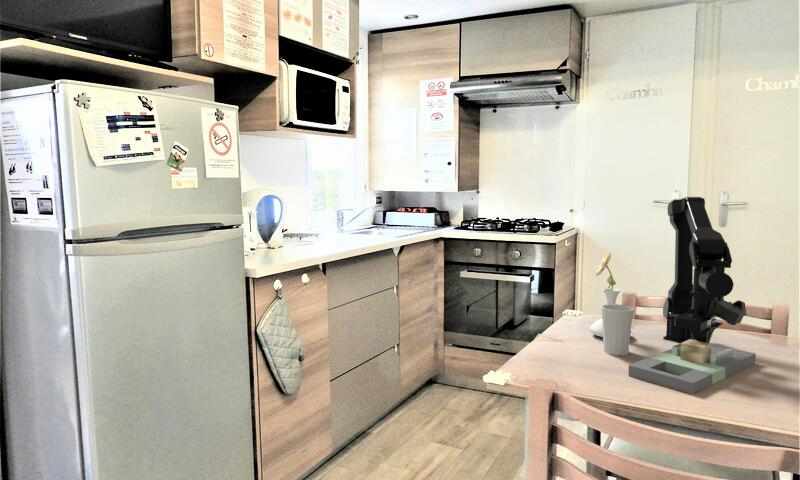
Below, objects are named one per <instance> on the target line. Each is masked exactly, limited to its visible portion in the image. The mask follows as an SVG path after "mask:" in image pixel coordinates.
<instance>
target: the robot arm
mask: <svg viewBox="0 0 800 480" xmlns="http://www.w3.org/2000/svg"><path fill="white" fill-rule="evenodd" d="M667 215H668V217H669V223H670V225H671V226H672V228H673V229H674V231H675V239H674V240H675V247H674V248H675V249H674V251H675V253H674V257H675V258H674V283H673V284H672V286H671V287H670V288H669V289H668V292H667V297H666V298H665V301H664V304H663V307H662V315H663V318H665V319H666V331H665V332H666V335H665V336H664V335H663V337H662V338H663V339H665V340H668V341H669V340H670V341H673V342H677V343H682V342H685V341H687V340H689V339H692V340H697V341H702V342H707V343H711V339H712V336H713V334H714V332H715V330H717V329H718V328H720V327H721V326H722V325H724V323H722V322H718V319H717V318H719V319H721V320H723V321H725V322H726V323H727V324H729V325H731V326H736V325H737V324H740V323H742V320H743V318H744V317H745V316H747V314H748V313H747V309H746V303H745V302H744V301H742V300H735V301H734V302H732V301H727V300H725V299H724V298H725V297H727V296H728V295H729V294H730V293H731V292H732V291H733V289H734V281H733V278H732V277H731V276H730V275H729V274H727V273H726V272H725V270H726V269H731V267H732V262H733V259H732V255H731V250H730V247H729V246H728V243H727V242H726V240H725V239H724V236H723V235H722V234H721V232H718V231H717V230H715V229H714V228H713V226H712V223H711V221H710V218H709V214H708V211H707V210H706V200H705V197H702V196H685V197H682V198H680V199H679V198H677V199H672V200H671V201H669V203H668V204H667Z"/></svg>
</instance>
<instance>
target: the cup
mask: <svg viewBox="0 0 800 480" xmlns="http://www.w3.org/2000/svg"><path fill="white" fill-rule="evenodd" d="M600 307H601V318H602V324H603V337H602V339H603V341H602V343H603V344H602V345H603V347H602V349H603V353H605V354H607V353H608V354H607V355H610V354H611V355H610V356H618V355H622V356H626V355H629V354H630V353H629V351H630V349H629V348H630V338H631V334H630V332H631V333H632V323H633V316H634V309H635V308H634V307H632V306H630V305H627V304H625V305H624V304H618V303H617V304H616V303H615V304H607V303H606V304H603V305H601V306H600Z"/></svg>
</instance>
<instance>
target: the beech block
mask: <svg viewBox="0 0 800 480" xmlns="http://www.w3.org/2000/svg"><path fill="white" fill-rule="evenodd" d="M680 343H681V342H680ZM711 344H712V343H711V342H709V343H707V342H702V341H697V340H692V339H689V340H687V341H685V342H682V343H681V353H680V359H681V360H686V361H690V362H694V363H698V364H703V363H705V362H707V361H709V360H710V356H711Z"/></svg>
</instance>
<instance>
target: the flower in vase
mask: <svg viewBox="0 0 800 480" xmlns="http://www.w3.org/2000/svg"><path fill="white" fill-rule="evenodd" d="M611 258H612V252H611V251H610V252H606V254H605V256H603V257H602V259H601V263H600V264H598V265H597V267H596V268H597V270H595V272H594V275H595V276H594V277H598V276H600V275H601V274H602V273H603V272H604V271H605V269H607V271H608V272H609V276H608V278H607V279H606V282H607V283H608V284H609V285H608V287H604V288H602V289H601V290H602V291H603V293H604V295H605V298H606V305H607V304H616V302H617V298H618V296H619V293H621V292H622V289H620V288H614V286H616V284H617V282H616V281H615V279H614V278H613V274H612V272H611V270H610V268H609V266H608V264H609V262H610V260H611ZM589 331H590V333H591V334H593V335H595V336H598V337H601V338H603V324H602V317H601V318H600V319H598V320H596V321H595V322H593V324H591V326H590V327H589ZM631 334H632V331H631V332H630V335H631Z"/></svg>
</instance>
